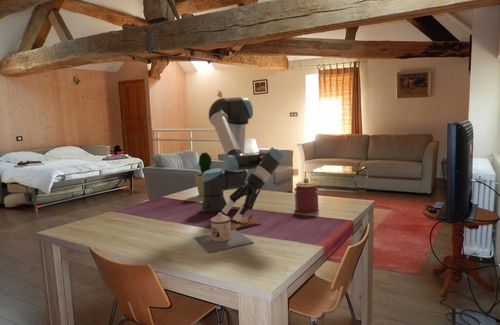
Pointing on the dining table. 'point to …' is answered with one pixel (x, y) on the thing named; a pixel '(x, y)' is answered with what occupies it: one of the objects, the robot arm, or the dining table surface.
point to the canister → (306, 196)
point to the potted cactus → (204, 166)
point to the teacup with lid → (220, 228)
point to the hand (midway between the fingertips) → (229, 216)
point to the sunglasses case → (244, 223)
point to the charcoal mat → (215, 246)
